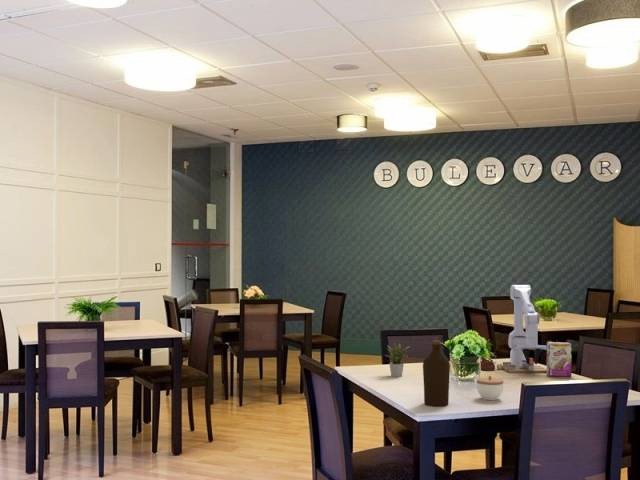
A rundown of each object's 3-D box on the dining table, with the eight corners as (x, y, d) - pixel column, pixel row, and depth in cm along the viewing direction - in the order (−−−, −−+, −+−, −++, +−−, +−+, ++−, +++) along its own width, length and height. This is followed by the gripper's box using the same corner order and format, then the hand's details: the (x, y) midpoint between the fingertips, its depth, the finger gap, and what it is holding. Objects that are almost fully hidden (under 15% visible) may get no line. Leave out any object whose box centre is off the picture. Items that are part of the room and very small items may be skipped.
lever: (516, 365, 371) (516, 354, 371) (525, 365, 370) (525, 354, 371) (525, 370, 354) (525, 358, 354) (534, 370, 354) (534, 358, 354)
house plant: (414, 378, 336) (414, 344, 337) (385, 378, 336) (385, 344, 337) (410, 374, 351) (410, 341, 351) (382, 373, 350) (382, 340, 351)
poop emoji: (476, 368, 372) (476, 350, 372) (493, 368, 372) (493, 350, 372) (481, 371, 362) (481, 352, 362) (497, 371, 362) (497, 352, 362)
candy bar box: (548, 376, 346) (548, 343, 346) (546, 374, 351) (546, 341, 351) (572, 377, 345) (572, 343, 345) (569, 375, 350) (569, 342, 350)
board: (500, 368, 371) (500, 361, 371) (539, 368, 371) (539, 361, 371) (508, 372, 356) (508, 365, 356) (549, 373, 356) (549, 366, 356)
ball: (494, 366, 368) (497, 362, 369) (498, 370, 368) (501, 366, 369) (497, 366, 365) (500, 362, 366) (501, 370, 365) (504, 366, 366)
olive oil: (442, 408, 271) (442, 342, 272) (417, 404, 277) (418, 340, 278) (454, 403, 280) (454, 340, 280) (430, 400, 286) (430, 338, 287)
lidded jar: (473, 396, 295) (473, 373, 295) (498, 396, 296) (498, 373, 296) (480, 401, 284) (481, 378, 284) (507, 401, 285) (507, 378, 285)
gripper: (519, 337, 352) (519, 365, 352) (548, 337, 352) (548, 365, 352) (515, 336, 359) (515, 362, 359) (543, 336, 359) (543, 363, 359)
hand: (531, 363), depth 356 cm, fingers open, 3 cm apart
